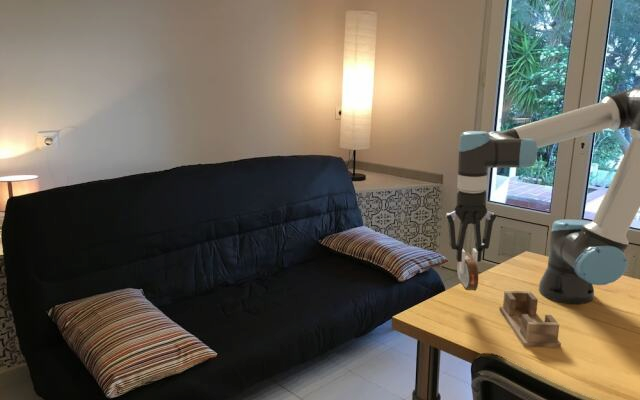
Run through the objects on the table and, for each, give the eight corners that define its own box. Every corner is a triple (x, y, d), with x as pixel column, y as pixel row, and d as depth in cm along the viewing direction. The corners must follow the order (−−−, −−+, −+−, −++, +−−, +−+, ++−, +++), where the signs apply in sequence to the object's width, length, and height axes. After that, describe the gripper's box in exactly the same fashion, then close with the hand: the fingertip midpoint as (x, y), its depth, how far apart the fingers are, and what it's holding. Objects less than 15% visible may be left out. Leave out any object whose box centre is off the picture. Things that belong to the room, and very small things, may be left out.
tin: (477, 295, 139) (481, 265, 137) (465, 294, 139) (469, 264, 137) (464, 276, 153) (467, 249, 152) (453, 275, 153) (456, 248, 152)
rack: (531, 310, 147) (533, 291, 146) (560, 347, 128) (563, 325, 126) (499, 310, 148) (501, 290, 146) (523, 346, 128) (526, 324, 127)
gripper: (497, 186, 142) (492, 266, 147) (439, 187, 142) (436, 267, 148) (506, 192, 134) (500, 277, 140) (444, 193, 135) (441, 277, 141)
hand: (467, 272), depth 144 cm, fingers closed on tin, 3 cm apart
